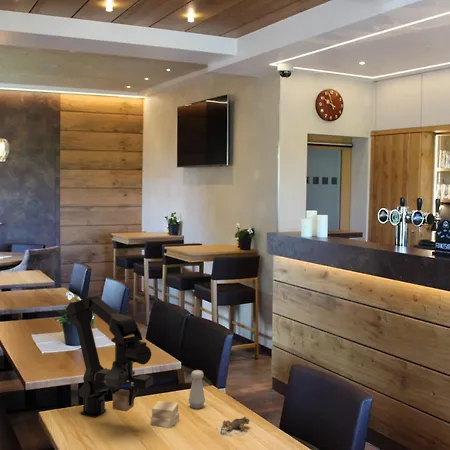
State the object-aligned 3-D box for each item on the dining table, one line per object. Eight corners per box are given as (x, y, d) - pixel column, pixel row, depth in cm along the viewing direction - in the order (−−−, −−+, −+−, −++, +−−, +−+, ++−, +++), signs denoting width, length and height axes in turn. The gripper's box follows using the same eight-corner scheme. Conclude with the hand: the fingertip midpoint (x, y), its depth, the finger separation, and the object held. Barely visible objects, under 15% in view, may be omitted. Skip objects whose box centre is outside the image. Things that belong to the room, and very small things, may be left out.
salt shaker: (202, 410, 215) (203, 374, 214) (186, 408, 216) (187, 373, 215) (206, 404, 220) (207, 369, 219) (191, 402, 221) (191, 367, 220)
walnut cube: (112, 409, 197) (112, 394, 197) (120, 403, 202) (120, 389, 201) (126, 411, 195) (126, 396, 195) (133, 406, 200) (134, 391, 199)
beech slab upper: (151, 417, 201) (152, 408, 200) (158, 409, 208) (158, 401, 207) (172, 419, 199) (172, 410, 199) (178, 411, 206) (178, 403, 206)
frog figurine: (245, 421, 207) (245, 410, 207) (255, 436, 196) (256, 424, 196) (212, 424, 204) (212, 413, 204) (221, 439, 193) (221, 427, 193)
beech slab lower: (150, 425, 201) (150, 416, 201) (160, 418, 208) (160, 409, 208) (169, 429, 199) (169, 420, 199) (178, 421, 205) (179, 412, 205)
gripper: (85, 360, 193) (84, 408, 194) (137, 368, 186) (136, 418, 188) (104, 351, 203) (103, 396, 205) (154, 358, 197) (153, 405, 198)
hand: (123, 404), depth 198 cm, fingers closed on walnut cube, 5 cm apart
